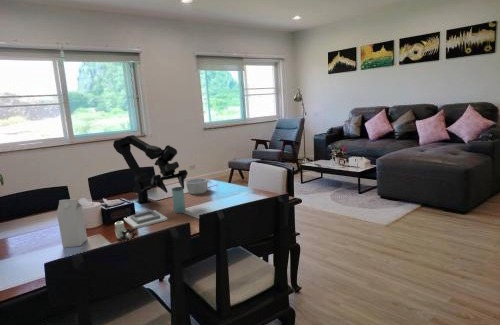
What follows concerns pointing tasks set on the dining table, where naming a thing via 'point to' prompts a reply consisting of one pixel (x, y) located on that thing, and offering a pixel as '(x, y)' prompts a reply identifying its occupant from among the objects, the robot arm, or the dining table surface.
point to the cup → (178, 199)
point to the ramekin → (197, 186)
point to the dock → (145, 219)
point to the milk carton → (71, 223)
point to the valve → (123, 231)
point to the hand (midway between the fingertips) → (175, 190)
